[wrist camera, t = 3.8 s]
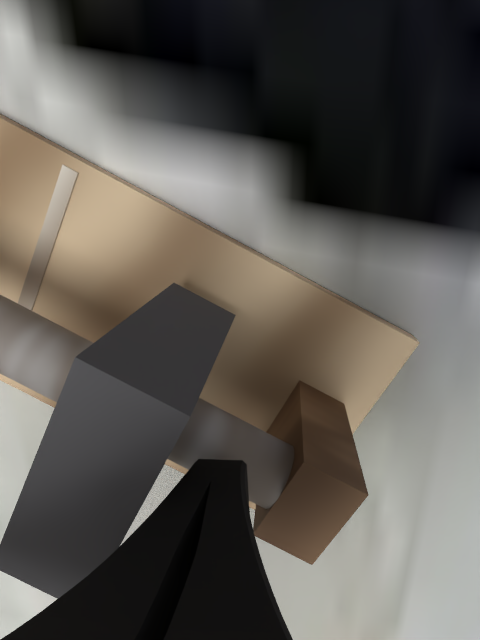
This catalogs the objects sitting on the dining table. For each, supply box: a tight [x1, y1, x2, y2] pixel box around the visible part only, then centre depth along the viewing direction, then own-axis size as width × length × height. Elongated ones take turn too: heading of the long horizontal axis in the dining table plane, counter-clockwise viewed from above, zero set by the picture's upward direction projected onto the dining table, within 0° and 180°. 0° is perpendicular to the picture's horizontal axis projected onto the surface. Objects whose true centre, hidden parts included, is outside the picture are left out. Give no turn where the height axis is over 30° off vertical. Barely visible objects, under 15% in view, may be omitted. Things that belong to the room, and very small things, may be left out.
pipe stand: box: [0, 114, 419, 565], centre depth 14 cm, size 20×10×6 cm, turn 63°
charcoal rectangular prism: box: [0, 283, 236, 599], centre depth 11 cm, size 2×6×7 cm, turn 153°
